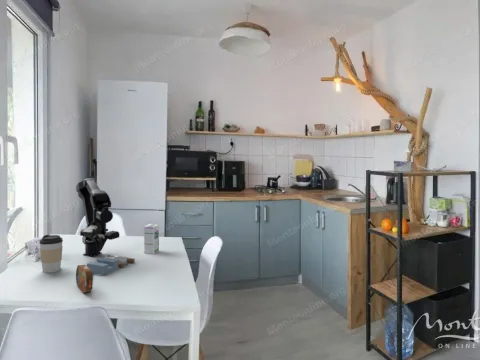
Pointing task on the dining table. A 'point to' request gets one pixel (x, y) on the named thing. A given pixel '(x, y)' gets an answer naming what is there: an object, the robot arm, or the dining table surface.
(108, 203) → the robot arm
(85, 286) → the tin
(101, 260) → the v block
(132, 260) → the guide channel
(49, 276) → the dining table surface
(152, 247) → the syrup box
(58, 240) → the coffee cup
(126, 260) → the axle
